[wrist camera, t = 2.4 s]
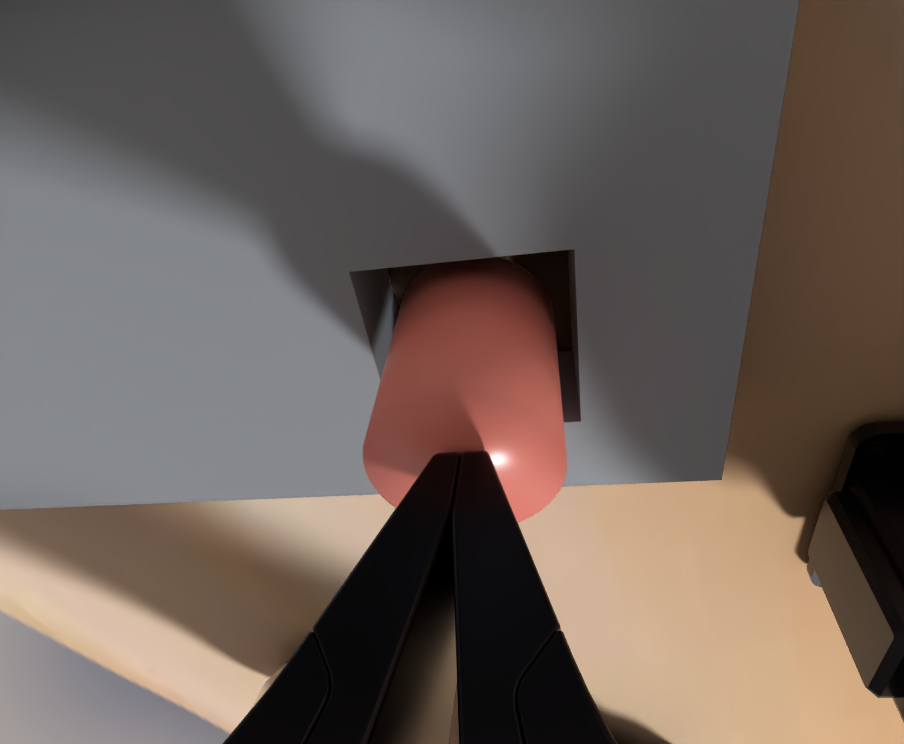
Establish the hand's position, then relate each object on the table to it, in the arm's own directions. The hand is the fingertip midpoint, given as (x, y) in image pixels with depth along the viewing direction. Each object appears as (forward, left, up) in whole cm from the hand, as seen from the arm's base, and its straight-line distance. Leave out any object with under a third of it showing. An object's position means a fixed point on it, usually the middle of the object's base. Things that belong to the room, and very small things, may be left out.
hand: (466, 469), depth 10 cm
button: (0, 0, -4) cm, 4 cm away
